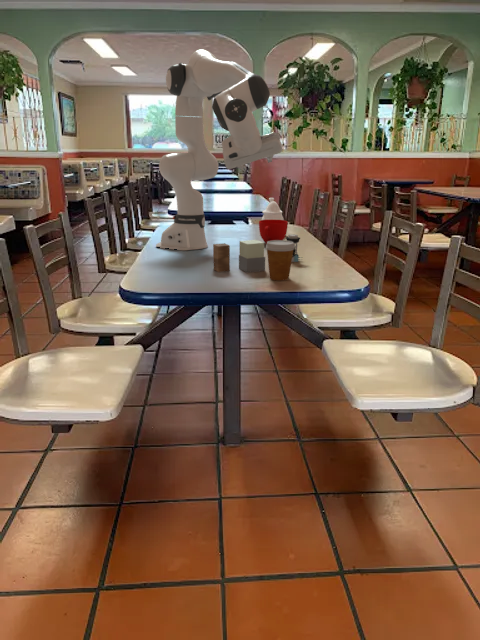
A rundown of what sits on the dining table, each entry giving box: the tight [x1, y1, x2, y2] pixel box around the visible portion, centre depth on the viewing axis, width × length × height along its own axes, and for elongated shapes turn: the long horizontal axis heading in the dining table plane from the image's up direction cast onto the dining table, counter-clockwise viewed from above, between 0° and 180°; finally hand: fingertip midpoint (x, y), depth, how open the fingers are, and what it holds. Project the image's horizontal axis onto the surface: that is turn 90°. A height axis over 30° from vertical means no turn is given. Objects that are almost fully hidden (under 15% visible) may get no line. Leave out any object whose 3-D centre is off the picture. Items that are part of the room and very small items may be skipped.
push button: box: [285, 234, 303, 263], centre depth 188 cm, size 7×5×10 cm
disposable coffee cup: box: [265, 239, 296, 282], centre depth 163 cm, size 10×10×12 cm
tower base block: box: [238, 254, 266, 273], centre depth 176 cm, size 7×7×5 cm
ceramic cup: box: [258, 219, 288, 245], centre depth 223 cm, size 13×17×10 cm
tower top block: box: [239, 239, 265, 259], centre depth 174 cm, size 6×6×5 cm
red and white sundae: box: [258, 197, 285, 237], centre depth 245 cm, size 13×13×18 cm
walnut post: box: [212, 243, 231, 273], centre depth 174 cm, size 4×4×9 cm
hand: (257, 164), depth 175 cm, fingers open, 8 cm apart
